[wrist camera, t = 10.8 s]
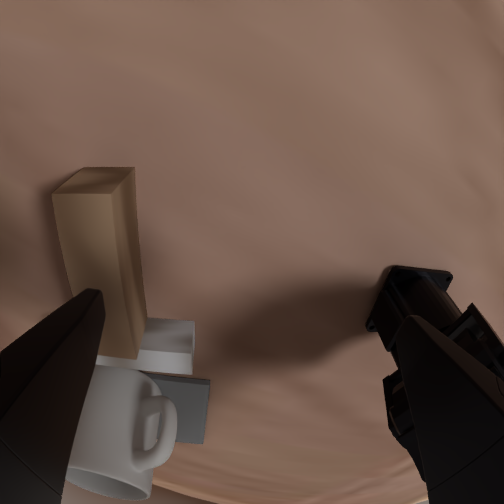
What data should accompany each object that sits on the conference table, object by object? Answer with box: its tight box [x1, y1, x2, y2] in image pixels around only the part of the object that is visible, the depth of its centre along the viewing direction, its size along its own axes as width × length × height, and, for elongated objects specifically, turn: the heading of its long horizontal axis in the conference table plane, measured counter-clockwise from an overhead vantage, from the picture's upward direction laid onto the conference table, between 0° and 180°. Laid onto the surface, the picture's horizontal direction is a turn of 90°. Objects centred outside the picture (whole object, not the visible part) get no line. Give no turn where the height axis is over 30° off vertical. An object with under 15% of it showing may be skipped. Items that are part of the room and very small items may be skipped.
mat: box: [142, 372, 210, 444], centre depth 31 cm, size 15×14×1 cm
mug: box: [65, 364, 177, 500], centre depth 23 cm, size 12×8×11 cm
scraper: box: [51, 167, 195, 375], centre depth 20 cm, size 11×14×4 cm
